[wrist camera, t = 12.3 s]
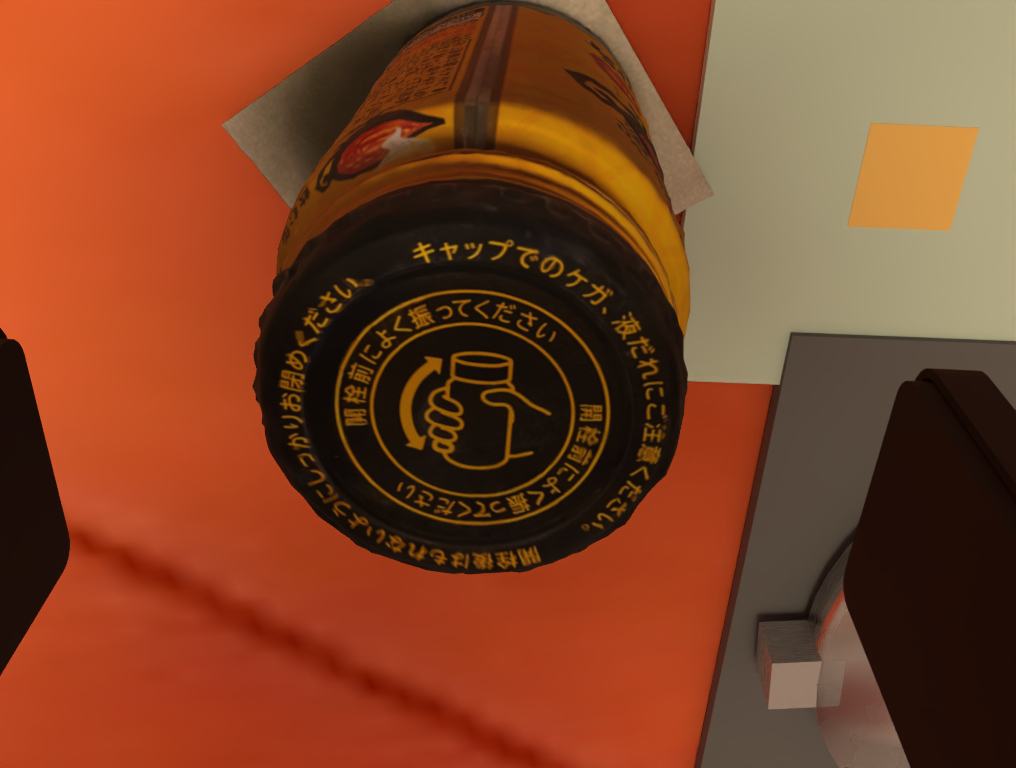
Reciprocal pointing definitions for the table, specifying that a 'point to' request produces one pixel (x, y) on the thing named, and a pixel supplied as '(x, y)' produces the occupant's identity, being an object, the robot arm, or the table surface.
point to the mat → (851, 178)
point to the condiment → (474, 281)
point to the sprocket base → (813, 517)
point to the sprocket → (829, 679)
